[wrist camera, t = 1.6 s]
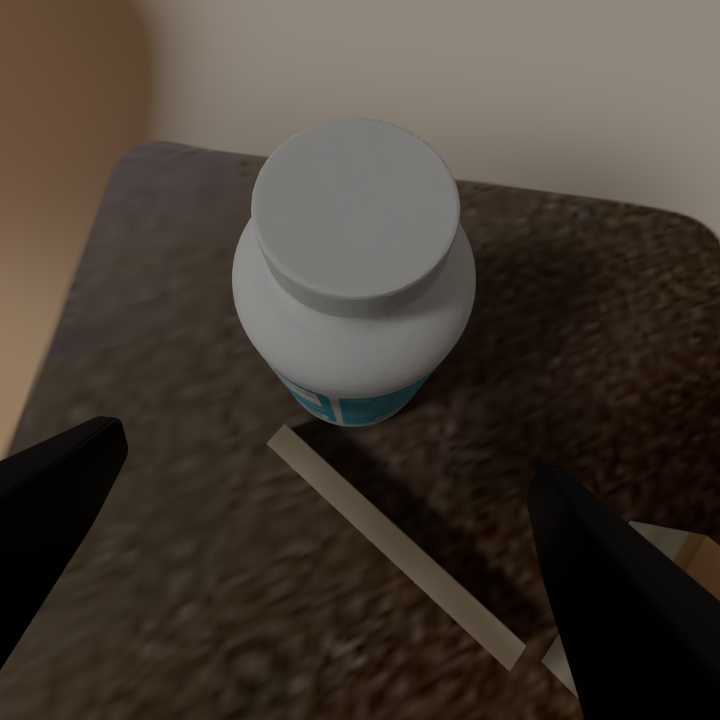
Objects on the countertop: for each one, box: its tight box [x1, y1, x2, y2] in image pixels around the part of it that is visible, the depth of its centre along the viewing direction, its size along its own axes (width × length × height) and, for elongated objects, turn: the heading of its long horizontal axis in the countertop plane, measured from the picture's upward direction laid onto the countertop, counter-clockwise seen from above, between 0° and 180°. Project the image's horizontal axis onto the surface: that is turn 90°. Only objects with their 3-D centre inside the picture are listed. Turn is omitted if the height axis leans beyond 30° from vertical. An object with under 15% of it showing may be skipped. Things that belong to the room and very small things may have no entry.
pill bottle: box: [232, 118, 476, 427], centre depth 15 cm, size 8×7×14 cm
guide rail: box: [267, 424, 526, 671], centre depth 18 cm, size 1×14×2 cm, turn 49°
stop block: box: [542, 521, 720, 699], centre depth 17 cm, size 8×4×4 cm, turn 139°
